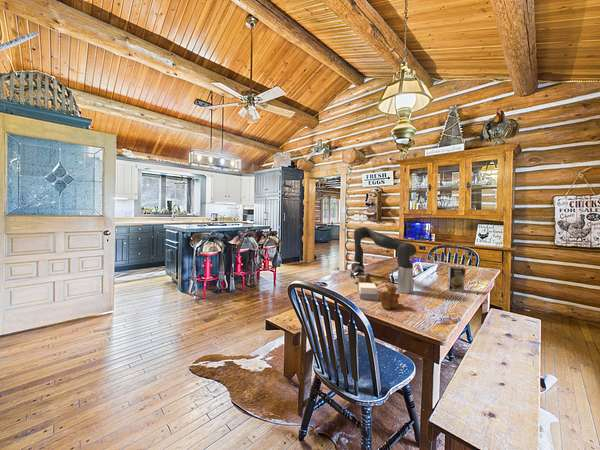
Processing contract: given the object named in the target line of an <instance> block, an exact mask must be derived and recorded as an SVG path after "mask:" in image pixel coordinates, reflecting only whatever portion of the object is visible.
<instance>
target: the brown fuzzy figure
mask: <svg viewBox="0 0 600 450" xmlns="http://www.w3.org/2000/svg"><path fill="white" fill-rule="evenodd" d="M384 286H385V287H386V289H387V290H382V291H379V293H378V292H377V293H378V294H377V295H378V296H377V297H378V300H379V301H380V303H381V304H380V305H381V307H382V308H384V309H386V310H390V309H392V310H393V309H395V310H396V309H397V310H399V309H402V308H404V304H402V303H399V300H398V299H399V298H400V293H397V292H398V291H399V290H397V289H398V288H397V286H396V285H395V284H394V283H389V284H387V283H386V284H385V285H384Z"/></svg>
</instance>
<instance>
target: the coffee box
mask: <svg viewBox="0 0 600 450" xmlns="http://www.w3.org/2000/svg"><path fill="white" fill-rule="evenodd" d="M465 280H466V268H464V267H462V266H461V267H459V266H448V269H447V281H446V283H447V284H446V286H447V287H446V289H447V290H448V291H449V292H455V293H457V292H458V293H464V292H465Z"/></svg>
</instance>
